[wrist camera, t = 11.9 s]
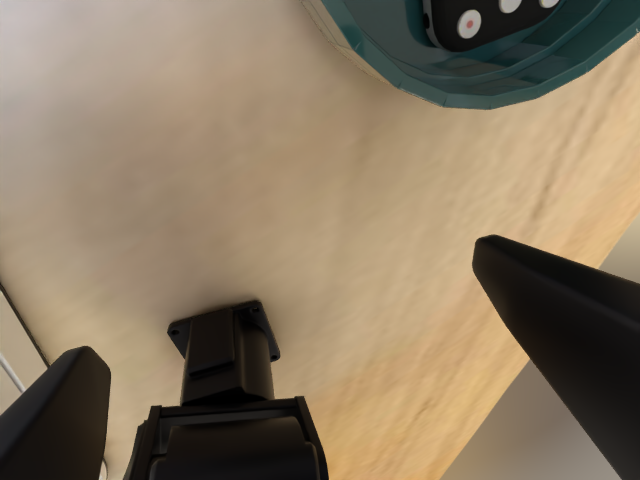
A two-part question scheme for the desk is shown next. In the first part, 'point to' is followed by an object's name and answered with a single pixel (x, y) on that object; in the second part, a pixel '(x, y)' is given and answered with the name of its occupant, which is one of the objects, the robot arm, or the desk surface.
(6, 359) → the laminator
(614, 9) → the bowl
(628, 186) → the desk surface
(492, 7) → the remote control
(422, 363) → the desk surface
